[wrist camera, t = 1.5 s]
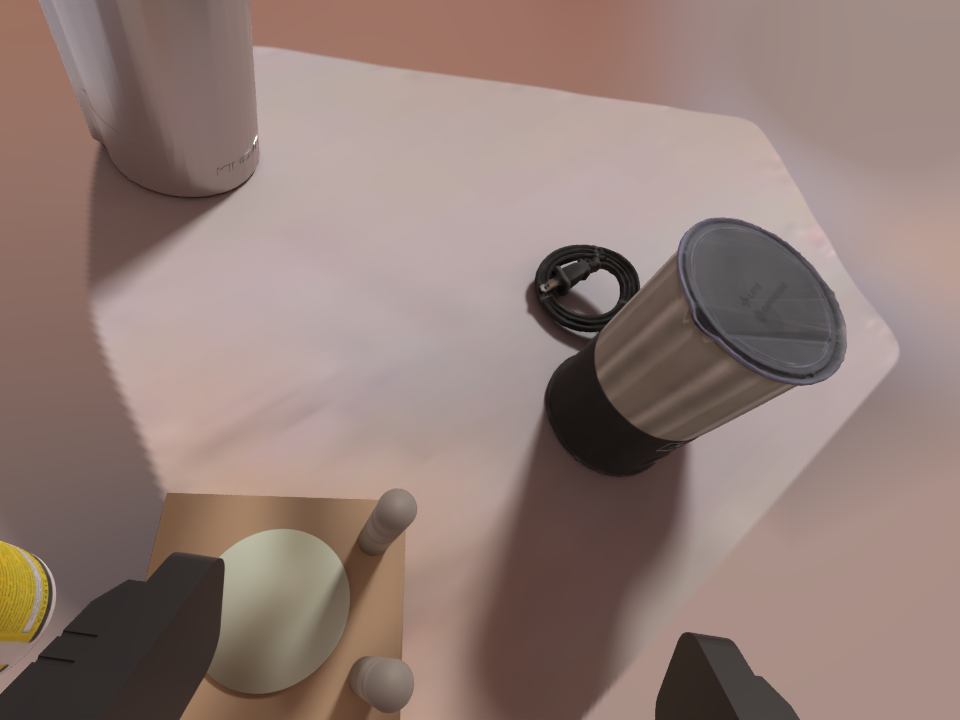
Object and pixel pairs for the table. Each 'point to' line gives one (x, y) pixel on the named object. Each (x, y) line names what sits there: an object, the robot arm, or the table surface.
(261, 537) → the pin tray
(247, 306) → the table surface
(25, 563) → the supplement bottle
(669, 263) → the milk frother
